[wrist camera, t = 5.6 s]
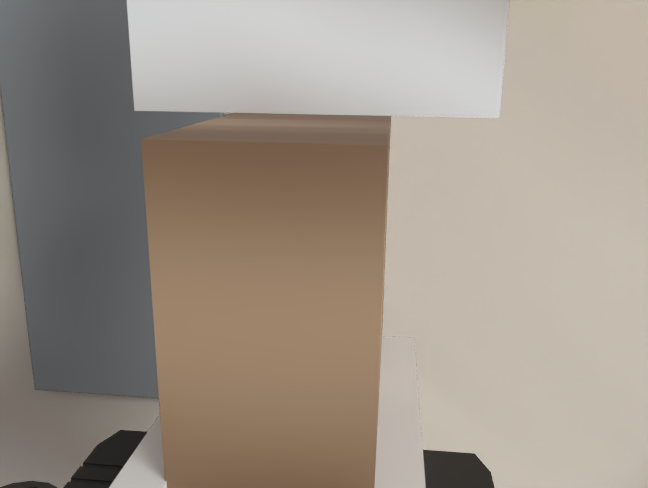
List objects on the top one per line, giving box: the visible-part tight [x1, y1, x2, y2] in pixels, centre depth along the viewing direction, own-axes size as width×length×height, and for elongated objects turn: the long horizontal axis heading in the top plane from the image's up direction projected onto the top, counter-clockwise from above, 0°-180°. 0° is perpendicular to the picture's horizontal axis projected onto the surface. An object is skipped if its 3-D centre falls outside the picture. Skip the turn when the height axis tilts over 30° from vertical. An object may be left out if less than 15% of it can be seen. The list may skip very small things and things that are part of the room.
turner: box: [127, 0, 510, 488], centre depth 11 cm, size 20×7×6 cm, turn 179°
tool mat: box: [0, 0, 224, 398], centre depth 22 cm, size 22×8×1 cm, turn 179°
